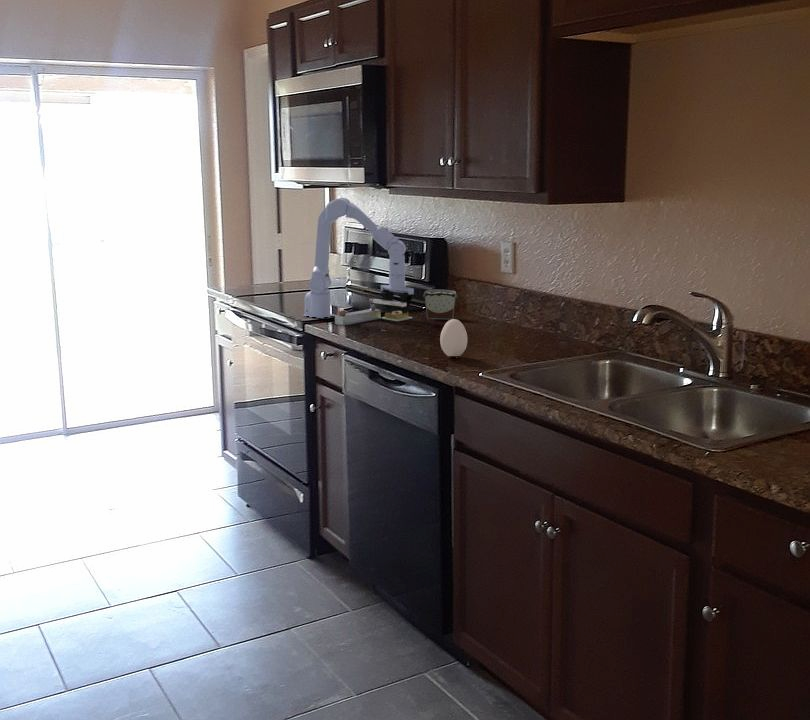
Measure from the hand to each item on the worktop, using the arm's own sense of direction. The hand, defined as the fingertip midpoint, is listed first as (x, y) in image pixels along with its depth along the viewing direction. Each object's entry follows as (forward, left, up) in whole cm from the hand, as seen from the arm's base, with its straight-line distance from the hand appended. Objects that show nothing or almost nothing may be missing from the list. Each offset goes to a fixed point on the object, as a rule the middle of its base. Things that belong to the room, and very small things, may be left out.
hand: (396, 312), depth 328 cm
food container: (+11, +12, -3) cm, 16 cm away
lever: (0, -6, +4) cm, 7 cm away
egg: (+57, -37, -3) cm, 68 cm away
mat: (0, 0, -2) cm, 2 cm away
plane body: (-6, -13, -2) cm, 15 cm away
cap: (0, 0, -2) cm, 2 cm away
